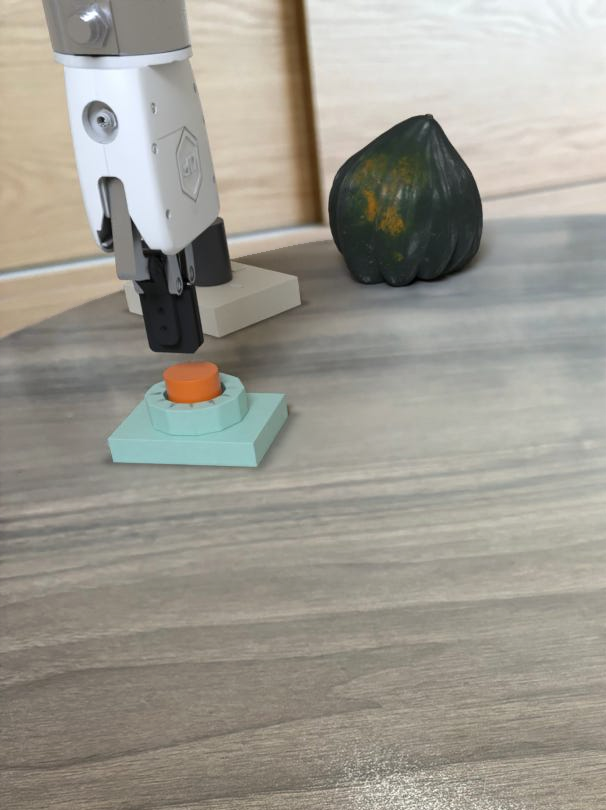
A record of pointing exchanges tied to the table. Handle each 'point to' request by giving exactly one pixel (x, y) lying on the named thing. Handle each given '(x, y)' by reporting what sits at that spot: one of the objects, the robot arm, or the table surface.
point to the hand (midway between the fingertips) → (177, 347)
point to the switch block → (200, 428)
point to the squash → (406, 206)
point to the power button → (192, 382)
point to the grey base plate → (237, 299)
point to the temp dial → (212, 256)
